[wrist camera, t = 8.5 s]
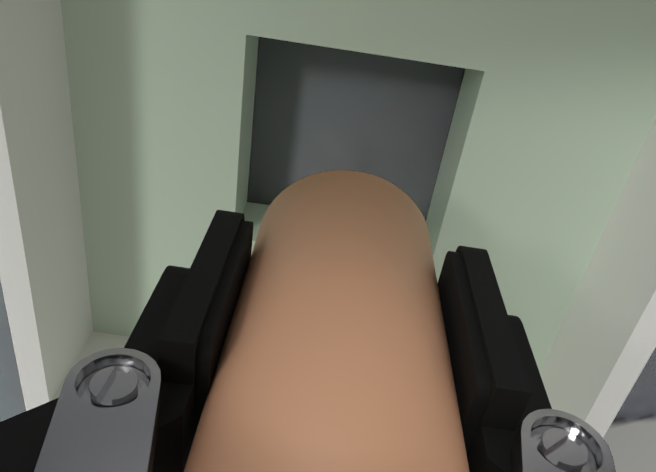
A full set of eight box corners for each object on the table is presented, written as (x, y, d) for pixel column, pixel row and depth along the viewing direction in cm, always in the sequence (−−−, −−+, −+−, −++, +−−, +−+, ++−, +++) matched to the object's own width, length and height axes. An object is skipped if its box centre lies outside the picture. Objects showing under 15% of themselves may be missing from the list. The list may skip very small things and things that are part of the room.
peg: (265, 156, 13) (106, 587, 5) (448, 185, 13) (569, 649, 5) (252, 302, 15) (126, 764, 7) (410, 325, 15) (453, 806, 7)
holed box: (50, -258, 15) (-119, -328, 10) (749, -143, 15) (943, -152, 10) (99, 303, 24) (27, 417, 19) (528, 364, 25) (571, 492, 19)
